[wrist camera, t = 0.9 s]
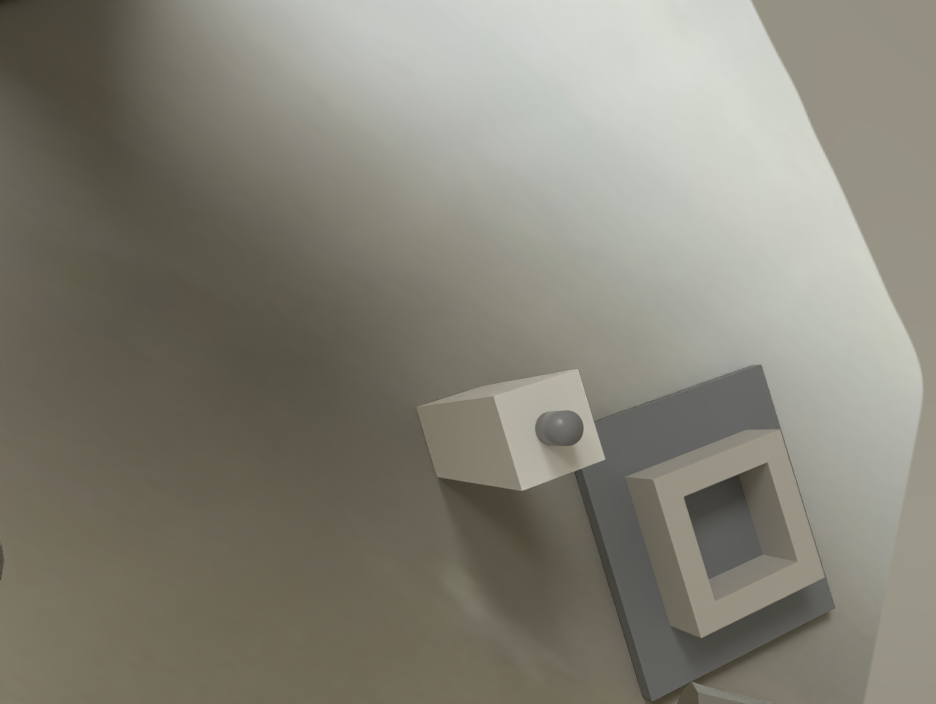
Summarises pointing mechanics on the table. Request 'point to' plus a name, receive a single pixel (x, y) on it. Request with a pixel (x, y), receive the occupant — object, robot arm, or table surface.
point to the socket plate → (702, 529)
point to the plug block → (513, 432)
